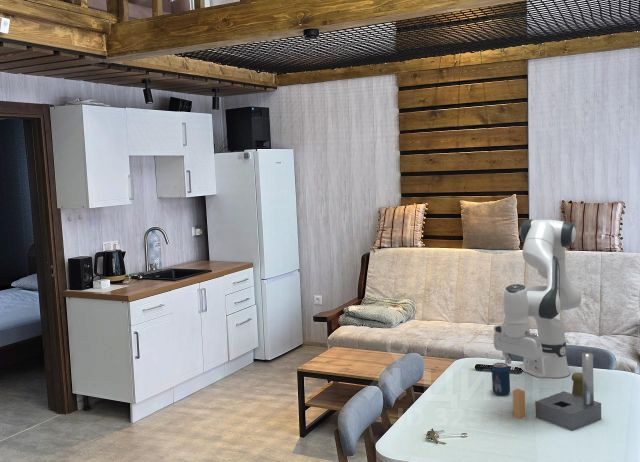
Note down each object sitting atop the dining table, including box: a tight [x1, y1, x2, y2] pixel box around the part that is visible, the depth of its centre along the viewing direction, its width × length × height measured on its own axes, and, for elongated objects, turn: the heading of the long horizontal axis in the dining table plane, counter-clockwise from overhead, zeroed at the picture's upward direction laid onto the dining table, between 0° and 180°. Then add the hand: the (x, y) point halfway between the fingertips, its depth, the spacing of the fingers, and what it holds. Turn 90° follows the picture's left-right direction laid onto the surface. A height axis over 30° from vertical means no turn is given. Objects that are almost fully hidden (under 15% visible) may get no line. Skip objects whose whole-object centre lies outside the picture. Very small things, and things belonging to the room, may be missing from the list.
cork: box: [571, 372, 583, 397], centre depth 252 cm, size 6×6×11 cm
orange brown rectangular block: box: [512, 388, 527, 420], centre depth 241 cm, size 3×3×10 cm
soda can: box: [491, 362, 511, 397], centre depth 265 cm, size 7×7×12 cm
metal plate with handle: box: [534, 352, 602, 432], centre depth 236 cm, size 16×16×24 cm
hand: (518, 366), depth 239 cm, fingers open, 8 cm apart
